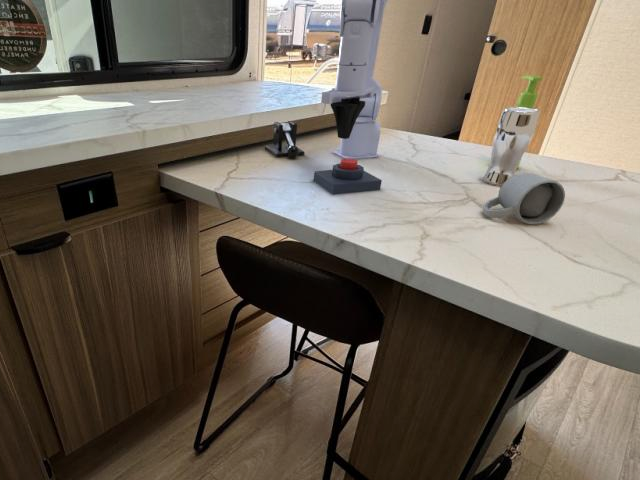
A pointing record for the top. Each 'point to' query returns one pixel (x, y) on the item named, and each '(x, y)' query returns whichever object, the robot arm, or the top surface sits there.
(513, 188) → the ceramic mug
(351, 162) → the button
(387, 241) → the top surface
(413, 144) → the top surface
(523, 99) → the soap dispenser
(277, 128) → the switch bracket
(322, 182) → the control block
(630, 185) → the top surface
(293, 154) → the switch lever
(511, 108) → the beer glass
